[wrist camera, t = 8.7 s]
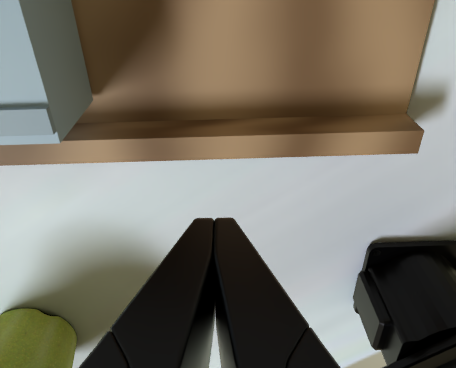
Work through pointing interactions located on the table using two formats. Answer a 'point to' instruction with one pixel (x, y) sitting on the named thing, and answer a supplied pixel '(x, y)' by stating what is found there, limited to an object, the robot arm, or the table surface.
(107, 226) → the table surface
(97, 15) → the brown tray
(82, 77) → the grey box
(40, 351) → the plant pot
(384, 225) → the table surface
